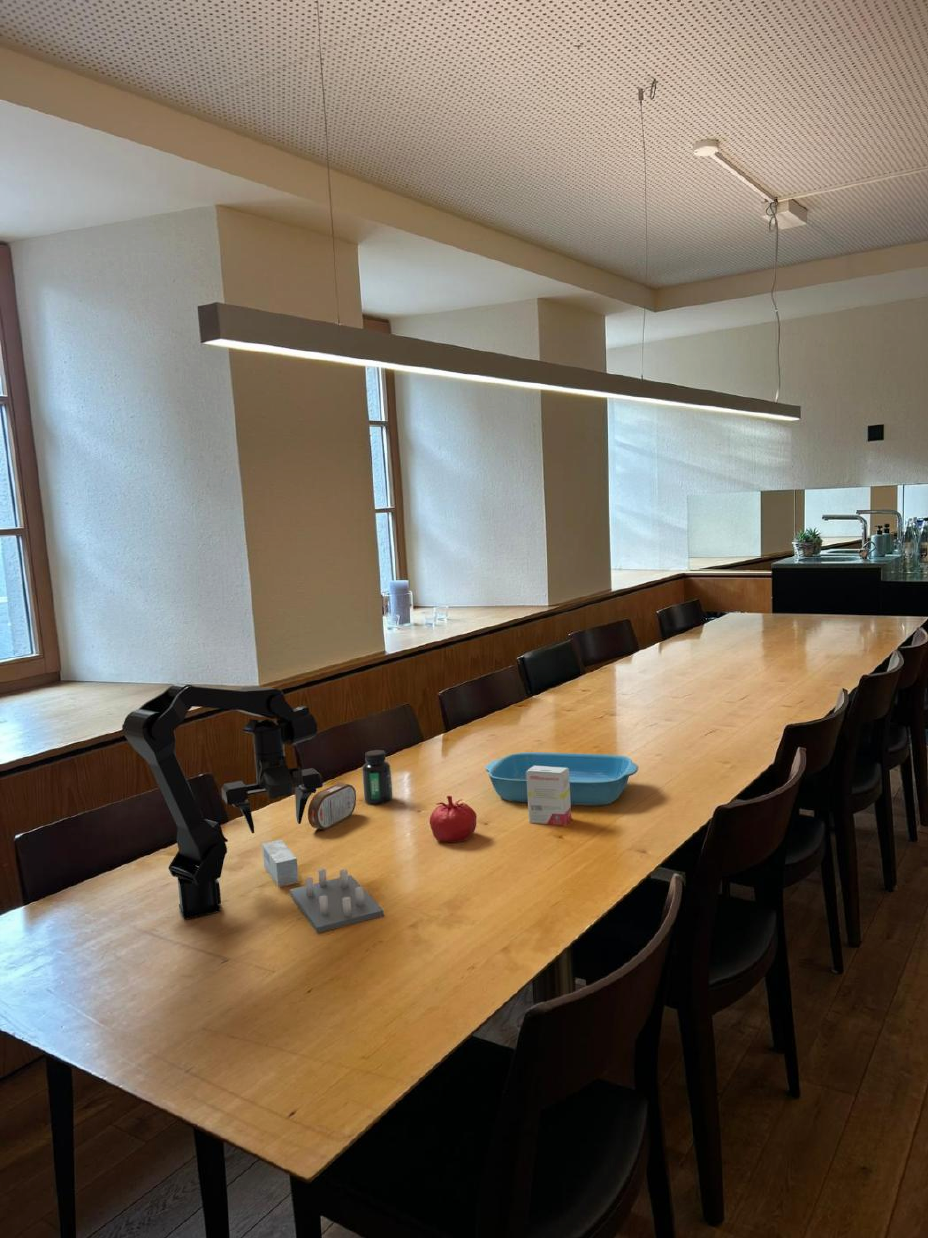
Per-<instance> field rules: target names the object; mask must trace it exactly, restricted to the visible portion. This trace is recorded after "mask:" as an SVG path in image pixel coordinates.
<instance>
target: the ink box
mask: <svg viewBox="0 0 928 1238" xmlns="http://www.w3.org/2000/svg"><path fill="white" fill-rule="evenodd" d="M526 778H527V794H528V802H527V804H528V805H527V806H528V808H527V809H528V821H529V823H530V824H540V825H541V824H543V825H554V826H555V825H557V826H566V825H568V823H569V822H570V821H571V819H572V807H571V806H572V805H571V802H570V783H569V768H562V767H548V766H533V767H531V768H530V769H529V770H527V771H526Z"/></svg>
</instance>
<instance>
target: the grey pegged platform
mask: <svg viewBox="0 0 928 1238" xmlns="http://www.w3.org/2000/svg"><path fill="white" fill-rule="evenodd" d="M317 871H318V881H319V882H316V883H314V878H312V877H307V878H305V879H304V883H305V885H303V886H299V887H295V888H291V889H289V895H290V897H291V899H292V900H293V901H294V903H295V904H296V905H297V907H298V908H299V909H300V911H301V912H302V914H303V915H304V916H305V918H306V919H307V921H308V922H309V924H310V925H311V927H313V929H314V931H315V932H316V933H317V934H321V933H323V932H327V931H331V930H334V929H338V928H342V927H346V926H349V925H354V924H357V923H362V922H366V921H369V920H372V919H377V918H380V917H383V916H385V911H384V909H383V908H382V907H381V906H380V904H378V902H376V900H375V899H374V898H373V897H372V896H371V895H370V894H369V892H367V890H365V888H364V887H363V886H362V885H361V884H360V883H359V882H358V881H357V880H356V879H355V878H354V877H353V875H352V874H349V875H348V869H341V870H339V877H337V878H333V879H327V869H326V868H319V869H318V870H317Z"/></svg>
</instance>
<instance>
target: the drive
mask: <svg viewBox="0 0 928 1238" xmlns="http://www.w3.org/2000/svg"><path fill="white" fill-rule="evenodd" d="M261 847H262V858H263V859H262V860H263V867H264V869H266V871H267V873H268V872H269V873H268V874H269V876H270V875H271V876H270V878H272V880H273V879H274V880H273V882H274V881H275V882H274V883H275V885H276V886H277V887H278V888H280V887H285V886H290V885H293V884H298V883H299V882H300V880H299V870H298V869H299V867H298V860H297V859H298V858H297V857H296V856H295V854H294V853H293V852H292V850H290V848H289V847H288V846H287V844H286V843H285V842H284V841H283V839H281V838H280V839H276V840H271V841H268V842H263V843H262V842H261Z"/></svg>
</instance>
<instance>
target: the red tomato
mask: <svg viewBox="0 0 928 1238" xmlns="http://www.w3.org/2000/svg"><path fill="white" fill-rule="evenodd" d="M446 798H447V804H446V803H445V802H444V801H443V802H438V803H437V802H435V804H436V805H438V806H436V807H435V809H434V810H433V811H432V813H431V815H430V816H429V826H430V829H431V831H432V835H433V837H434V838H435V840H437V841H438V842H440V843H455V842H457V843H458V842H464V841H466V840H468V839H469V838H470V837H471V836H473V834H474V833H475V831H476V827H477V817H478V816H477V813H476V811H475V810H474V809H473V808H472V807H471V806H470V805H469V804H467V803H464V802H461V803H459V802H460V801H462V799H458V800H457V801H456V802H454V803H453V796H452V795H446Z"/></svg>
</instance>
